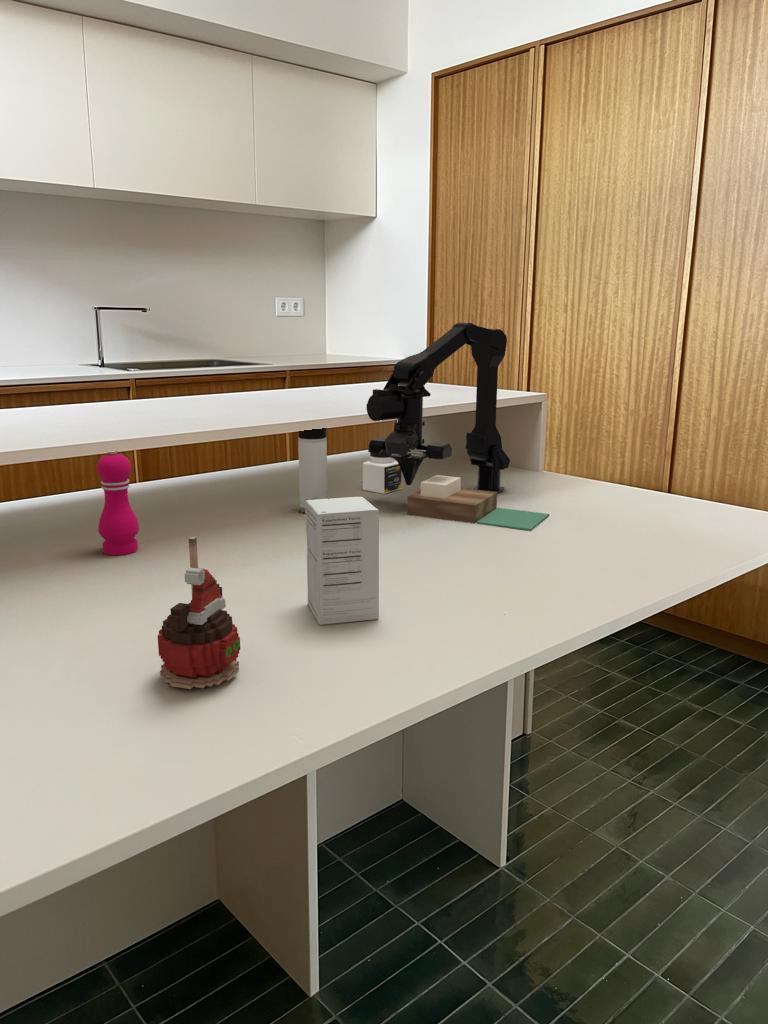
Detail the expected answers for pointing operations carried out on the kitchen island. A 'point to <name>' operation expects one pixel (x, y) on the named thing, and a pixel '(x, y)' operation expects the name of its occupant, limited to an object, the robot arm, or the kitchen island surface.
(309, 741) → the kitchen island surface
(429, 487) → the block
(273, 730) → the kitchen island surface
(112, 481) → the pepper mill
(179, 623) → the cake
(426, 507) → the deck
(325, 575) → the supplement box
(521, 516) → the mat
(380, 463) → the medicine bottle
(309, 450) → the travel mug
